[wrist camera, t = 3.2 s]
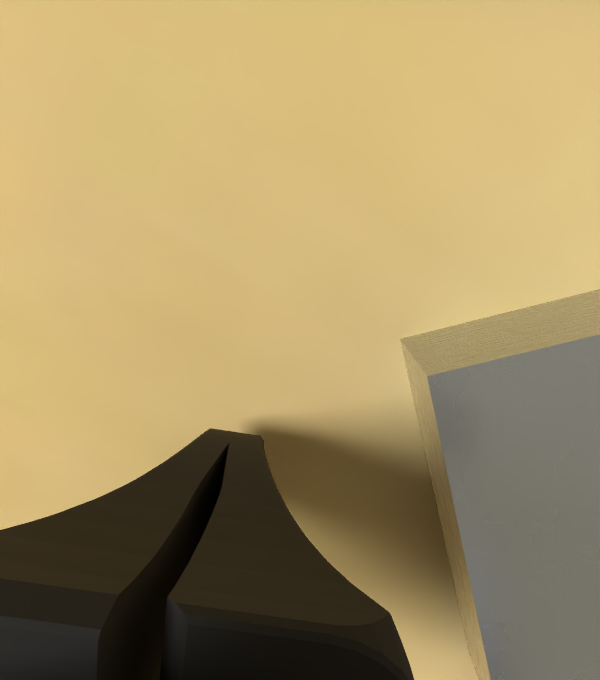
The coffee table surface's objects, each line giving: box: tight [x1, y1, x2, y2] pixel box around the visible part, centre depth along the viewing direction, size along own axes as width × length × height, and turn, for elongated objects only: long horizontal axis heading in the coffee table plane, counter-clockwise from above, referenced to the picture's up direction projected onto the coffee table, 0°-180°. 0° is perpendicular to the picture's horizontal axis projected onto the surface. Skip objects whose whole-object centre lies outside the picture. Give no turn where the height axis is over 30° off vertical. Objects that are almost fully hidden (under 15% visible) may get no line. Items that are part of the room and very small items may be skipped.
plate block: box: [400, 289, 600, 680], centre depth 11 cm, size 10×5×3 cm, turn 15°
